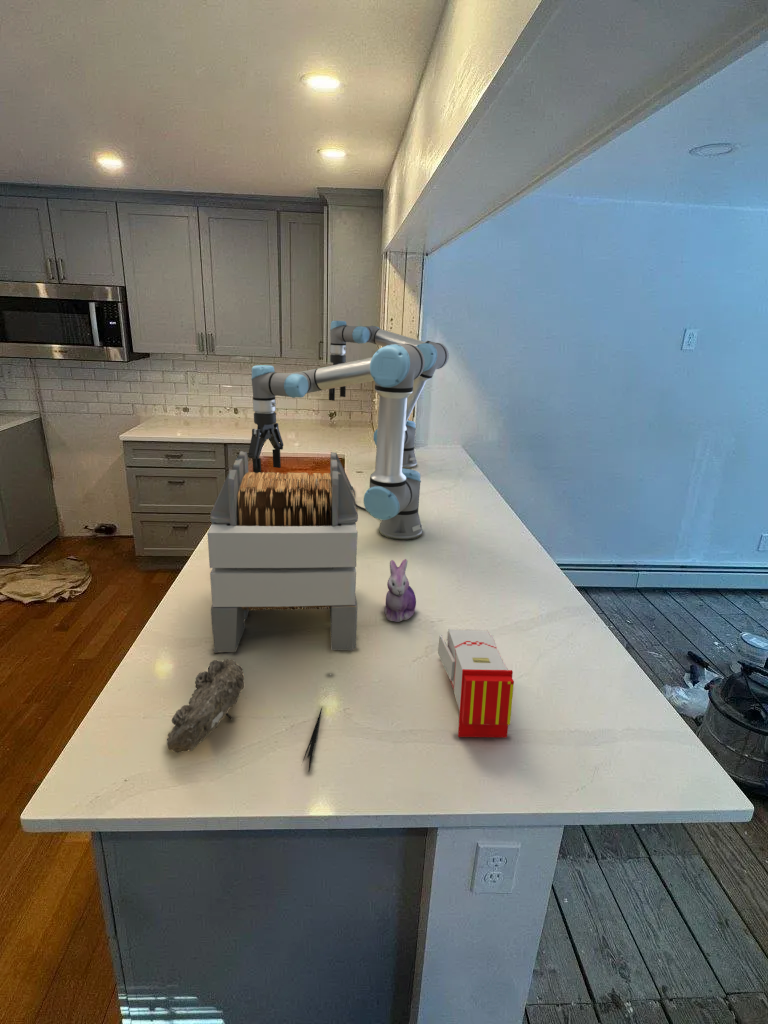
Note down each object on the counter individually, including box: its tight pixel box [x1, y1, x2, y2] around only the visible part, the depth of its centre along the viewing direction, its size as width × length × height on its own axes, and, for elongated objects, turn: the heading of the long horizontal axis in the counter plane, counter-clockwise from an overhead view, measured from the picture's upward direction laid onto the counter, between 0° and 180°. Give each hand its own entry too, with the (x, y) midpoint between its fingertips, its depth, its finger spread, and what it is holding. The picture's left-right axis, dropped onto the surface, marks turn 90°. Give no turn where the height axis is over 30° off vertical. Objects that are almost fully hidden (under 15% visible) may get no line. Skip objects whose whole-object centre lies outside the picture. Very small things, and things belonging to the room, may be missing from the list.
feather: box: [301, 673, 332, 771], centre depth 108 cm, size 2×28×2 cm
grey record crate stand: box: [206, 450, 359, 654], centre depth 137 cm, size 34×33×41 cm
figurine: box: [384, 558, 417, 623], centre depth 145 cm, size 9×10×15 cm
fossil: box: [166, 658, 245, 754], centre depth 106 cm, size 22×10×15 cm
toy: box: [437, 628, 515, 738], centre depth 117 cm, size 12×13×30 cm
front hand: (267, 471), depth 201 cm, fingers open, 13 cm apart
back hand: (337, 398), depth 281 cm, fingers open, 13 cm apart
